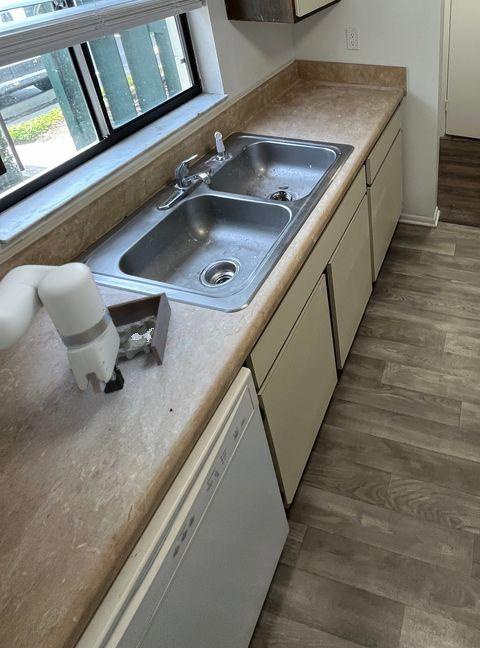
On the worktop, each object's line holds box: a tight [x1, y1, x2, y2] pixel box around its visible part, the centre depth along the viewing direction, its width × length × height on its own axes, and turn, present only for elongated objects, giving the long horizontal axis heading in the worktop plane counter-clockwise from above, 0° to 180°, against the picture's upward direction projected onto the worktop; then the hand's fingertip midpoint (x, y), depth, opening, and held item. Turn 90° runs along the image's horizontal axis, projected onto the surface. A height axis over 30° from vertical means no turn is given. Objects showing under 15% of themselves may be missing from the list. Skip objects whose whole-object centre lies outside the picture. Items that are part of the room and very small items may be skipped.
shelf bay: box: [70, 291, 172, 379], centre depth 96 cm, size 15×15×6 cm
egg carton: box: [116, 315, 157, 361], centre depth 97 cm, size 11×8×4 cm
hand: (115, 387), depth 87 cm, fingers closed
